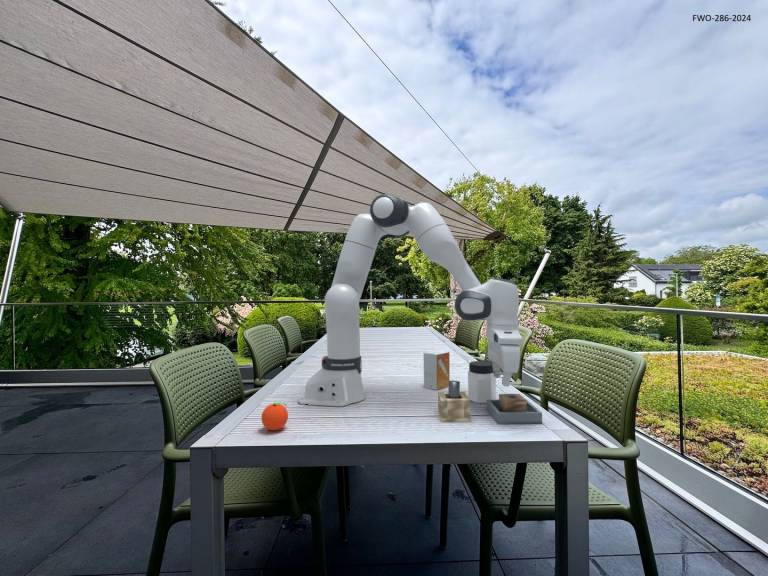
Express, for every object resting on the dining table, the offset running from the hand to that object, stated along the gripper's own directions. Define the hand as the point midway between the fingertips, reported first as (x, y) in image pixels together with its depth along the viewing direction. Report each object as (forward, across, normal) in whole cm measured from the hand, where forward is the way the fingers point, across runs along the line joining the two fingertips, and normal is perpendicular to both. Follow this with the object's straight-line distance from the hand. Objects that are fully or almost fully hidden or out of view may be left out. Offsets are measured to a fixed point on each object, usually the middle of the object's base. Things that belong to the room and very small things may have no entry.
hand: (501, 381), depth 109 cm
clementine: (+12, +10, -63) cm, 65 cm away
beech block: (+10, +2, -14) cm, 17 cm away
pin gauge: (+9, +1, -14) cm, 17 cm away
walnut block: (+9, +1, +3) cm, 10 cm away
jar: (+10, -15, -2) cm, 18 cm away
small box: (+10, -30, -15) cm, 36 cm away
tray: (+10, +1, +3) cm, 10 cm away
